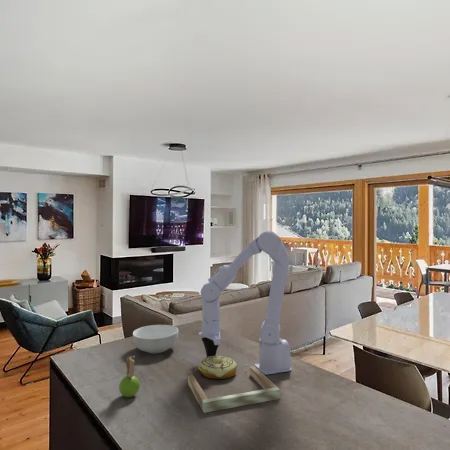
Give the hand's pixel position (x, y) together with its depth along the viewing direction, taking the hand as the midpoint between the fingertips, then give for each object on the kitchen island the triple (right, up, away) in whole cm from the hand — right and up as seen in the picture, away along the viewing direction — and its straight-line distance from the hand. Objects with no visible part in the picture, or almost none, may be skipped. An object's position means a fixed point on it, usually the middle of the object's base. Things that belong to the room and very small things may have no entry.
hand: (211, 360), depth 118 cm
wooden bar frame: (+7, -2, -19) cm, 20 cm away
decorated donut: (+2, -2, -7) cm, 7 cm away
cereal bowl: (-21, -2, +14) cm, 25 cm away
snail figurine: (-21, -2, -22) cm, 30 cm away
